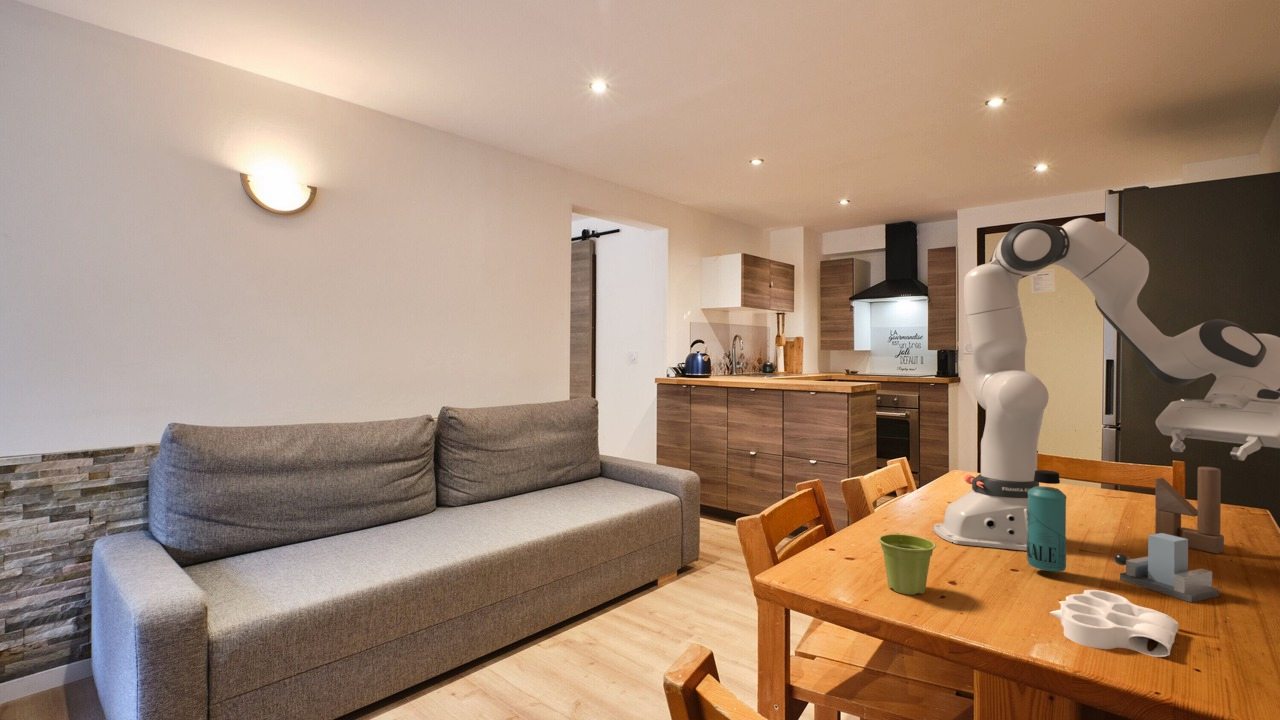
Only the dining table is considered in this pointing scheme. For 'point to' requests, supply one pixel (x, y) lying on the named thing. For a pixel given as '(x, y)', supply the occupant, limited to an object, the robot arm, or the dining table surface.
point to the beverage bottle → (1046, 524)
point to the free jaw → (1133, 565)
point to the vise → (1180, 585)
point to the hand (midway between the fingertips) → (1204, 453)
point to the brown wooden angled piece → (1192, 511)
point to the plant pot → (906, 562)
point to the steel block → (1166, 557)
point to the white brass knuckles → (1115, 623)
